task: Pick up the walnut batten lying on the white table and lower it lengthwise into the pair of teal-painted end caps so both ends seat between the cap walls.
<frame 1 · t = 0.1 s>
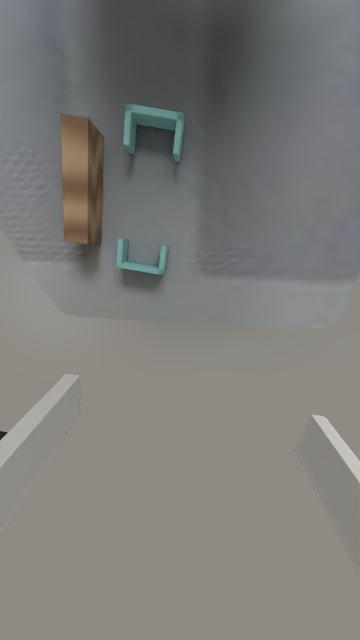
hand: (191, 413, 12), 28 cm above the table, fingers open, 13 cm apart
batten: (91, 193, 34), on the table
endcap rail: (150, 202, 33), on the table
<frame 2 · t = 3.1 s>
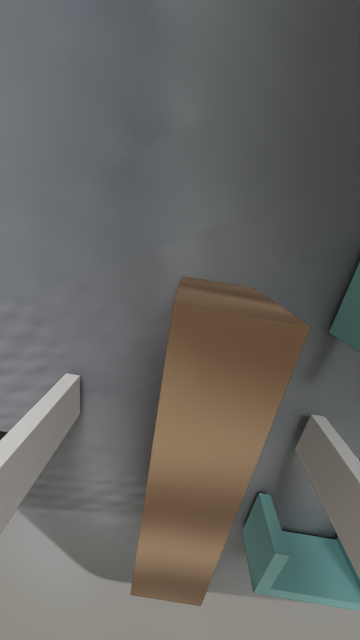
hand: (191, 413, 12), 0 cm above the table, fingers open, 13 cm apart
batten: (191, 407, 13), on the table
endcap rail: (352, 436, 12), on the table
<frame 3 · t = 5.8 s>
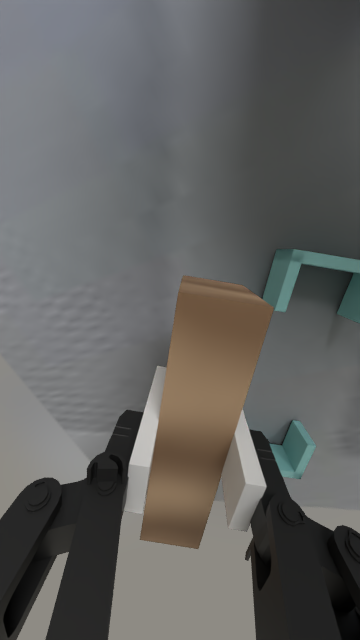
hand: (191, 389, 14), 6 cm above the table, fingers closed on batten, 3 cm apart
batten: (190, 386, 15), point 6 cm above the table, touching gripper
endcap rail: (282, 367, 20), on the table
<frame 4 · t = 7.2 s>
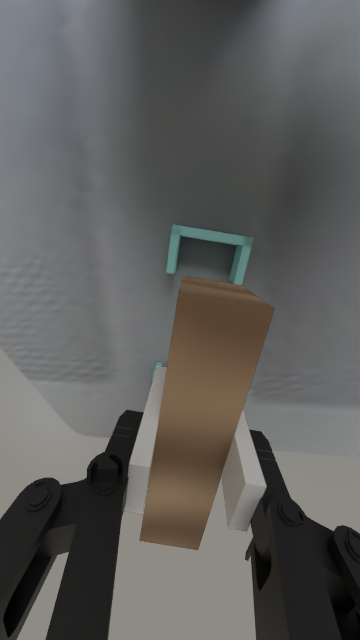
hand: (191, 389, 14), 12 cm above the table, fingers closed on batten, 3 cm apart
batten: (190, 387, 15), point 12 cm above the table, touching gripper
endcap rail: (193, 324, 26), on the table
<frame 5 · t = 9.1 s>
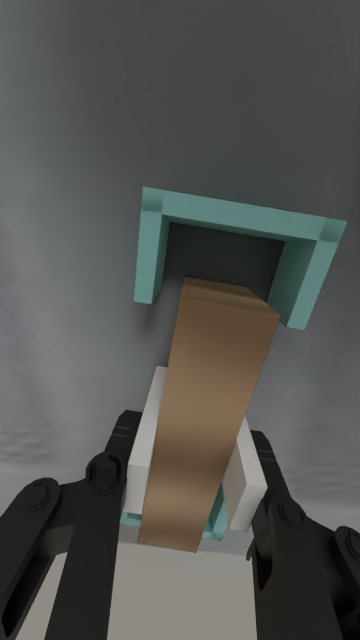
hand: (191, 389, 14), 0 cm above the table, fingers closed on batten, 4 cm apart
batten: (190, 389, 14), on the table, touching gripper
endcap rail: (194, 384, 14), on the table
when the fingers open (0 cm above the table, at t = 10.4 s): batten stays where it is, on the table.
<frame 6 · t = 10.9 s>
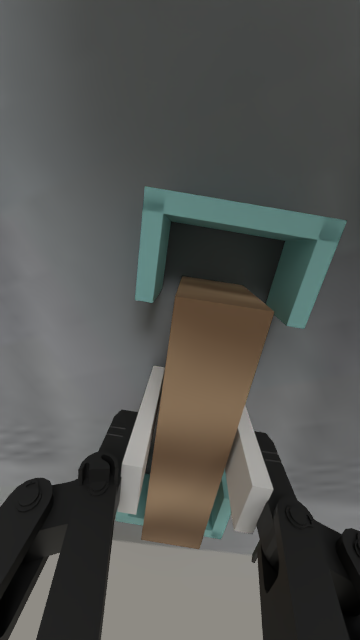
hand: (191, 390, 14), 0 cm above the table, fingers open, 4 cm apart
batten: (191, 387, 15), on the table
endcap rail: (194, 383, 14), on the table
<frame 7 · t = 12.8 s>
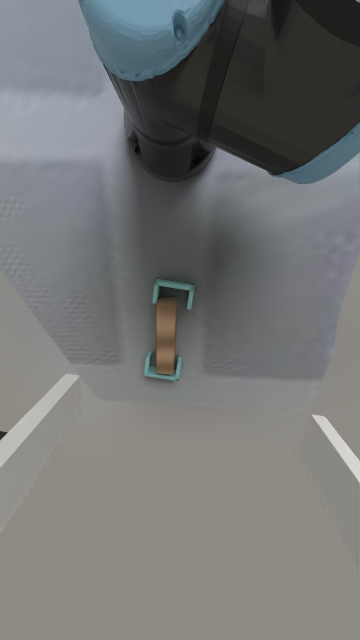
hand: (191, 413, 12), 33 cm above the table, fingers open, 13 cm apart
batten: (168, 331, 46), on the table
endcap rail: (168, 329, 45), on the table
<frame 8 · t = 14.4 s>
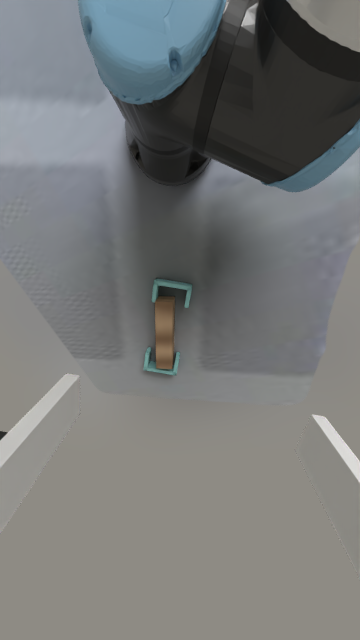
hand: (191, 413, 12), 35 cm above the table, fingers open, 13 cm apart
batten: (166, 328, 48), on the table
endcap rail: (167, 326, 48), on the table
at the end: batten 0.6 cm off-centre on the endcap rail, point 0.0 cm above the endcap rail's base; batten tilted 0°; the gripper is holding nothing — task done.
